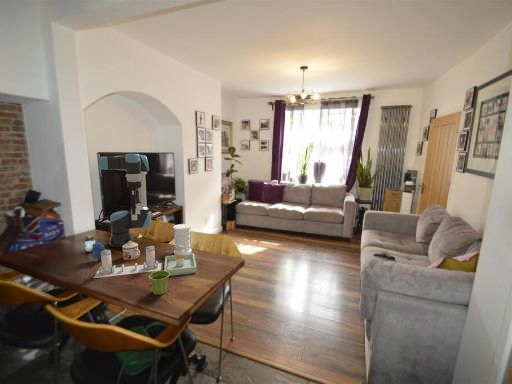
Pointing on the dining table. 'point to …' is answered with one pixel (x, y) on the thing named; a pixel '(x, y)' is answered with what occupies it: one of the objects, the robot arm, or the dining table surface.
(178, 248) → the cylinder
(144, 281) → the dining table surface
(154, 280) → the plant pot
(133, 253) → the teacup with lid
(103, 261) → the block
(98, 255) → the grapes
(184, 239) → the decorative container
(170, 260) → the tray
